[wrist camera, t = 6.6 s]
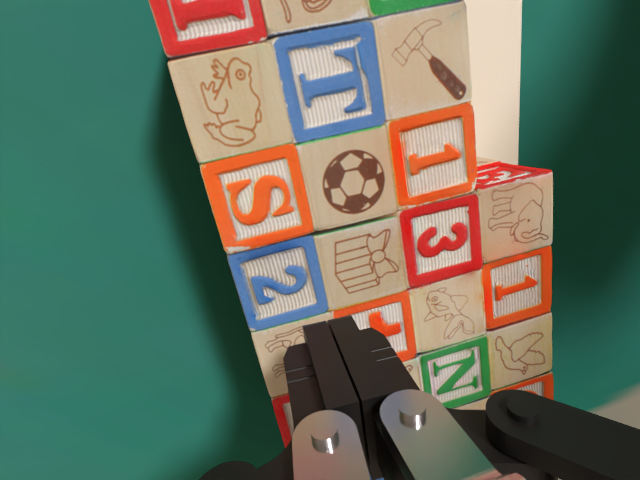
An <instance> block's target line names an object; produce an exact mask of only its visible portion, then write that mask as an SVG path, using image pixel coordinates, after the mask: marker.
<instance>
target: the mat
mask: <svg viewBox="0 0 640 480" xmlns="http://www.w3.org/2000/svg"><path fill="white" fill-rule="evenodd" d="M464 1H465V3H466V7H467V22H468V38H469V52H470V67H471V81H472V99H471V103H472V106H473V110H474V121H475V138H476V156H477V157H482V158H488V159H493V160H499V161H500V162H502V163H508V164H512V165H518V141H519V100H520V59H521V18H522V0H464Z"/></svg>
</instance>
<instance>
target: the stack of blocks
mask: <svg viewBox="0 0 640 480" xmlns="http://www.w3.org/2000/svg"><path fill="white" fill-rule="evenodd" d="M148 1H149V4H150V7H151V11H152V14H153V17H154V20H155V23H156V26H157V29H158V32H159V36H160V39H161V42H162V45H163V49H164V52H165V54H166V56H167V58H168V59H169V60H168V63H167V64H168V68H169V71H170V75H171V79H172V82H173V85H174V88H175V92H176V95H177V98H178V101H179V104H180V107H181V111H182V114H183V118H184V121H185V125H186V128H187V131H188V134H189V137H190V140H191V143H192V146H193V150H194V153H195V156H196V158H197V160H198V162H199V165H200V171H201V175H202V178H203V181H204V184H205V188H206V191H207V195H208V198H209V201H210V205H211V208H212V212H213V215H214V218H215V221H216V225H217V228H218V231H219V234H220V237H221V241H222V244H223V247H224V250H225V252H226V253H227V258H228V263H229V266H230V269H231V272H232V276H233V279H234V282H235V285H236V288H237V292H238V295H239V298H240V301H241V305H242V308H243V311H244V314H245V318H246V321H247V324H248V327H249V329H250V331H251V335H252V339H253V343H254V346H255V350H256V353H257V356H258V359H259V363H260V366H261V369H262V373H263V376H264V379H265V382H266V386H267V389H268V392H269V395H270V396H271V400H272V405H273V408H274V412H275V415H276V419H277V422H278V426H279V429H280V432H281V436H282V439H283V442H284V446H285V448H286V447H287V446H288V444H289V442H290V440H291V438H292V435H293V430H294V425H293V418H292V412H291V405H290V399H289V393H288V387H287V380H286V374H285V368H284V361H283V358H284V355H285V353H286V351H287V349H288V346H292V345H297V344H301V343H305V340H304V334H303V328H302V326H304V325H308V324H313V323H317V322H322V321H326V322H327V320H330V319H335V318H339V317H344V316H348V315H351V316H352V317H353V319H354V321H355V323H356V325H357V326H358V328H359V330H362V329H366V328H370V327H372V328H374V329H375V330H377V331H379V332H380V333H382V334H384V335H385V337H386V338H387V340H388V341H389V343H390V344H391V347H392V348H393V349H394V350H395V352H396V353H397V356H398V357H399V358H400V360H401V361H402V363H403V364H404V366H405V367H406V369H407V370H408V372H409V373H410V375H411V376H412V378H413V380H414V381H415V383H416V384H417V386H418V387H419V389H420V390H421V391H424V392H426V393H429V394H431V395H433V396H434V397H436V398H437V399H438V400H439V401H440V402H441V403H442V404H443V406H444V407H447V408H451V409H460V410H486V402H487V400H488V399H489V397H490V396H491V395H493V394H494V393H496V392H499V391H502V390H509V389H515V390H523V391H527V392H531V393H534V394H537V395H540V396H543V397H546V398H549V399H552V400H553V373H552V372H551V371H550V370H551V369H552V313H551V310H550V308H551V302H552V250H551V244H552V237H553V172H552V170H548V169H541V168H533V167H526V166H520V165H512V164H508V163H502V162H500V161H499V160H493V159H488V158H482V157H477V156H476V138H475V121H474V110H473V106H472V103H471V99H472V81H471V67H470V52H469V38H468V22H467V7H466V3H465V1H464V0H148ZM368 472H369V470H368ZM369 476H370V473H369ZM370 479H371V480H372V478H371V476H370ZM376 480H384V478H380V479H376Z"/></svg>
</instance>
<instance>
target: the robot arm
mask: <svg viewBox="0 0 640 480" xmlns="http://www.w3.org/2000/svg"><path fill="white" fill-rule="evenodd" d="M302 328H303V334H304V340H305V343H301V344H297V345H292V346H288V349H287V351H286V353H285V355H284V358H283V361H284V368H285V374H286V380H287V387H288V393H289V399H290V405H291V412H292V418H293V425H294V430H293V435H292V438H291V440H290V442H289V444H288V446H287V447H286V448H285V450H284V451H283V452H282V453H281V454H280V455H278V456H277V457H276V458H275V459H273V460H272V461H270V462H268V463H267V464H265V465H263V466H262V467H260V468H258V469H256V468H255V467H254V466H253V465H251V464H249V463H247V462H243V461H230V462H226V463H223V464H220V465H218V466H216V467H214V468H212V469H211V470H209V471H208V472H207V473H205V474H204V475H203V476H202V477H201V478H200V479H199V480H371V479H370V476H371V478H372V480H376V479H380V478H384V480H558V478H560V479H562V480H640V429H637V428H634V427H631V426H628V425H625V424H622V423H619V422H616V421H613V420H610V419H607V418H604V417H601V416H599V415H596V414H593V413H590V412H587V411H584V410H581V409H578V408H575V407H572V406H569V405H566V404H563V403H560V402H557V401H554V400H552V399H549V398H546V397H543V396H540V395H537V394H534V393H531V392H527V391H523V390H515V389H509V390H502V391H499V392H496V393H494V394H493V395H491V396H490V397H489V399H488V400H487V402H486V410H460V409H451V408H447V407H444V406H443V404H442V403H441V402H440V401H439V400H438V399H437V398H436V397H434V396H433V395H431V394H429V393H426V392H424V391H421V390H420V389H419V387H418V386H417V384H416V383H415V381H414V380H413V378H412V376H411V375H410V373H409V372H408V370H407V369H406V367H405V366H404V364H403V363H402V361H401V360H400V358H399V357H398V356H397V353H396V352H395V350H394V349H393V348H392V347H391V344H390V343H389V341H388V340H387V338H386V337H385V335H384V334H382V333H380V332H379V331H377V330H375V329H374V328H372V327H370V328H366V329H362V330H359V328H358V326H357V325H356V323H355V321H354V319H353V317H352V316H351V315H348V316H344V317H339V318H335V319H330V320H327V322H326V321H322V322H317V323H313V324H308V325H304V326H302ZM368 470H369V472H368ZM369 473H370V476H369Z"/></svg>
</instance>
